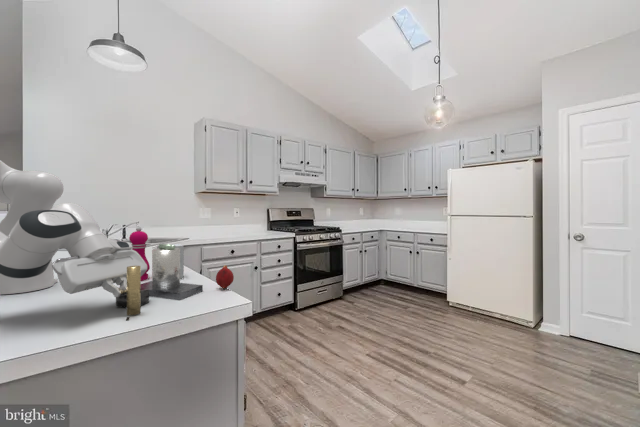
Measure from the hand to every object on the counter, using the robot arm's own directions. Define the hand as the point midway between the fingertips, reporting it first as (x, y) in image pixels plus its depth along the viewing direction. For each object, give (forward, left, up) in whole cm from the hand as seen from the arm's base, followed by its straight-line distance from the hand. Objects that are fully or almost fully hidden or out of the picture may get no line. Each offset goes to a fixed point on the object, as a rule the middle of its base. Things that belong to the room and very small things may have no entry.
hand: (122, 294), depth 75 cm
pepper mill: (-29, +30, -5) cm, 42 cm away
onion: (+9, +30, -5) cm, 32 cm away
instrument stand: (-6, +11, -5) cm, 13 cm away
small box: (-19, +35, -6) cm, 40 cm away
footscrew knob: (-3, +5, -5) cm, 8 cm away
